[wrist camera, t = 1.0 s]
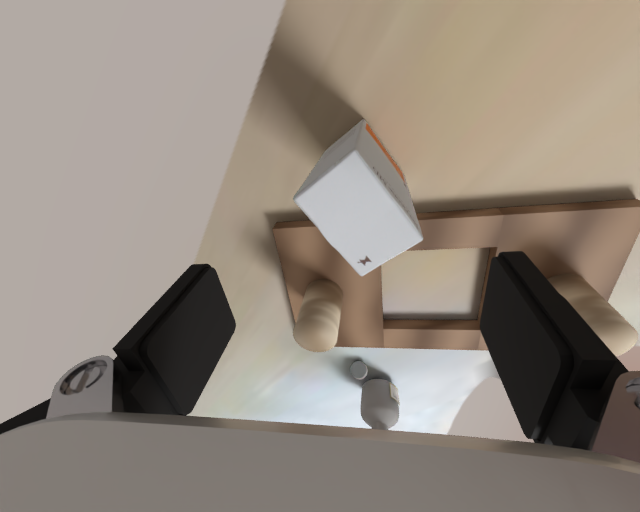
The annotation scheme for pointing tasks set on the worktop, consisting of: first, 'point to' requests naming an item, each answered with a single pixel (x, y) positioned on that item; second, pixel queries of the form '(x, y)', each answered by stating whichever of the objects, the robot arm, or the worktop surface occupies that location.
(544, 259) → the walnut rail
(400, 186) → the skincare box
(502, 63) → the worktop surface
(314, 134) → the worktop surface
